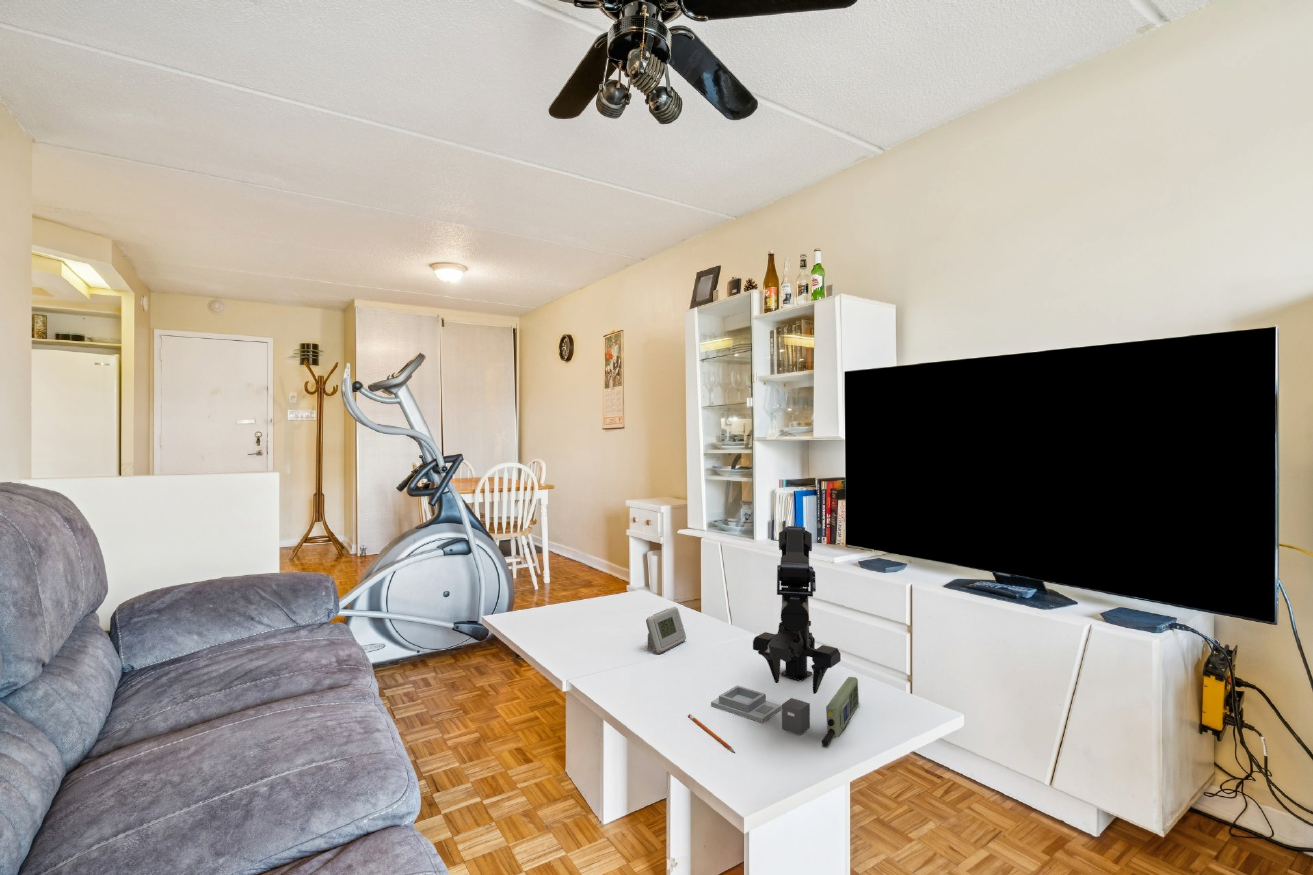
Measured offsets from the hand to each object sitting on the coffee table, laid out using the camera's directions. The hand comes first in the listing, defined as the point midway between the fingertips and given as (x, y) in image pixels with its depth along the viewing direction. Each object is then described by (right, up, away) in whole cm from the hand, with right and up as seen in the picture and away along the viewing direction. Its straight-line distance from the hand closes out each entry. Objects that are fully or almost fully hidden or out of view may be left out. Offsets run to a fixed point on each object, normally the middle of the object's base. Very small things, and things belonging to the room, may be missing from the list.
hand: (795, 687), depth 134 cm
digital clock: (-28, -10, +54) cm, 61 cm away
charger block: (0, -9, 0) cm, 9 cm away
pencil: (-19, -10, -2) cm, 21 cm away
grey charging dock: (-9, -9, +10) cm, 17 cm away
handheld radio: (+10, -9, +2) cm, 14 cm away
